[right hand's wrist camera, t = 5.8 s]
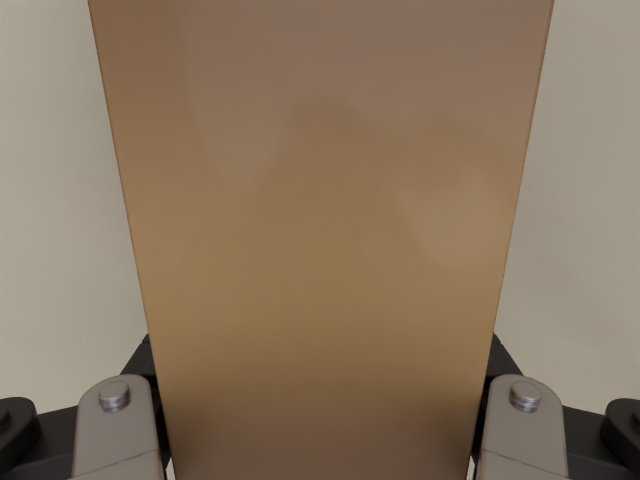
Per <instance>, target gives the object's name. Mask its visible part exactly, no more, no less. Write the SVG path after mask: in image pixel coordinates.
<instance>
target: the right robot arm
mask: <svg viewBox="0 0 640 480" xmlns="http://www.w3.org/2000/svg"><path fill="white" fill-rule="evenodd" d="M471 456H472V459H473V461H474V464H475V467H474V472H473V477H472V480H640V400H636V399H628V398H621V399H615V400H613V401H611V402H610V403H609V404H608V406H607V408H606V411H605V414H604V415H601V414H596V413H592V412H588V411H583V410H579V409H574V408H570V407H567V406H564V405H562V403H561V401H560V399H559V398H558V396H557V395H556V394H555V393H554V392H553V391H552V390H551V389H550V388H549V387H547V386H546V385H544V384H543V383H541V382H539V381H537V380H535V379H532V378H529V377H526V376H524V375H523V374H522V372H521V371H520V369H519V368H518V367H517V365H516V364H515V362H514V361H513V359H512V358H511V356H510V355H509V353H508V352H507V350H506V349H505V347H504V346H503V344H501V342H500V340H499V339H498V337H497V336H496V334H494V331H493V336H492V342H491V347H490V353H489V358H488V364H487V369H486V374H485V380H484V385H483V391H482V396H481V402H480V407H479V412H478V418H477V423H476V429H475V434H474V440H473V445H472V450H471ZM170 458H171V452H170V447H169V441H168V436H167V431H166V425H165V420H164V414H163V409H162V403H161V398H160V392H159V387H158V381H157V376H156V371H155V365H154V360H153V354H152V349H151V343H150V338H149V333H148V334H147V335H146V336H145V338H144V339H143V341H142V344H140V345H139V346H138V348H137V349H136V351H135V352H134V354H133V355H132V357H131V358H130V360H129V361H128V363H127V364H126V366H125V367H124V369H123V370H122V372H121V373H120V375H118V376H114V377H111V378H108V379H105V380H103V381H101V382H99V383H97V384H96V385H94V386H93V387H91V388H90V389H89V390H88V391H87V392H86V393H85V394H84V395H83V396H82V398H81V399H80V401H79V403H78V405H77V406H73V407H69V408H65V409H60V410H56V411H51V412H47V413H43V414H37V411H36V408H35V405H34V403H33V402H32V401H31V400H29V399H27V398H23V397H10V398H4V399H0V480H168V477H167V472H166V468H167V466H168V463H169V460H170Z"/></svg>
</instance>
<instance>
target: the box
mask: <svg viewBox="0 0 640 480" xmlns="http://www.w3.org/2000/svg"><path fill="white" fill-rule="evenodd" d="M88 5H89V11H90V16H91V22H92V27H93V33H94V38H95V43H96V49H97V54H98V60H99V65H100V71H101V76H102V82H103V87H104V93H105V98H106V103H107V109H108V114H109V120H110V125H111V131H112V136H113V142H114V147H115V152H116V158H117V163H118V169H119V174H120V180H121V185H122V191H123V196H124V202H125V207H126V212H127V218H128V223H129V229H130V234H131V240H132V245H133V251H134V256H135V262H136V267H137V272H138V278H139V283H140V289H141V294H142V300H143V305H144V311H145V316H146V321H147V327H148V332H149V338H150V343H151V349H152V354H153V360H154V365H155V371H156V376H157V381H158V387H159V392H160V398H161V403H162V409H163V414H164V420H165V425H166V431H167V436H168V441H169V447H170V452H171V458H172V463H173V469H174V474H175V480H466V478H467V472H468V467H469V461H470V456H471V450H472V445H473V440H474V434H475V429H476V423H477V418H478V412H479V407H480V402H481V396H482V391H483V385H484V380H485V374H486V369H487V364H488V358H489V353H490V347H491V342H492V336H493V331H494V326H495V320H496V315H497V309H498V304H499V298H500V293H501V288H502V282H503V277H504V271H505V266H506V260H507V255H508V250H509V244H510V239H511V233H512V228H513V222H514V217H515V211H516V206H517V201H518V195H519V190H520V184H521V179H522V173H523V168H524V163H525V157H526V152H527V146H528V141H529V135H530V130H531V125H532V119H533V114H534V108H535V103H536V97H537V92H538V87H539V81H540V76H541V70H542V65H543V59H544V54H545V49H546V43H547V38H548V32H549V27H550V21H551V16H552V11H553V5H554V0H88Z"/></svg>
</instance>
